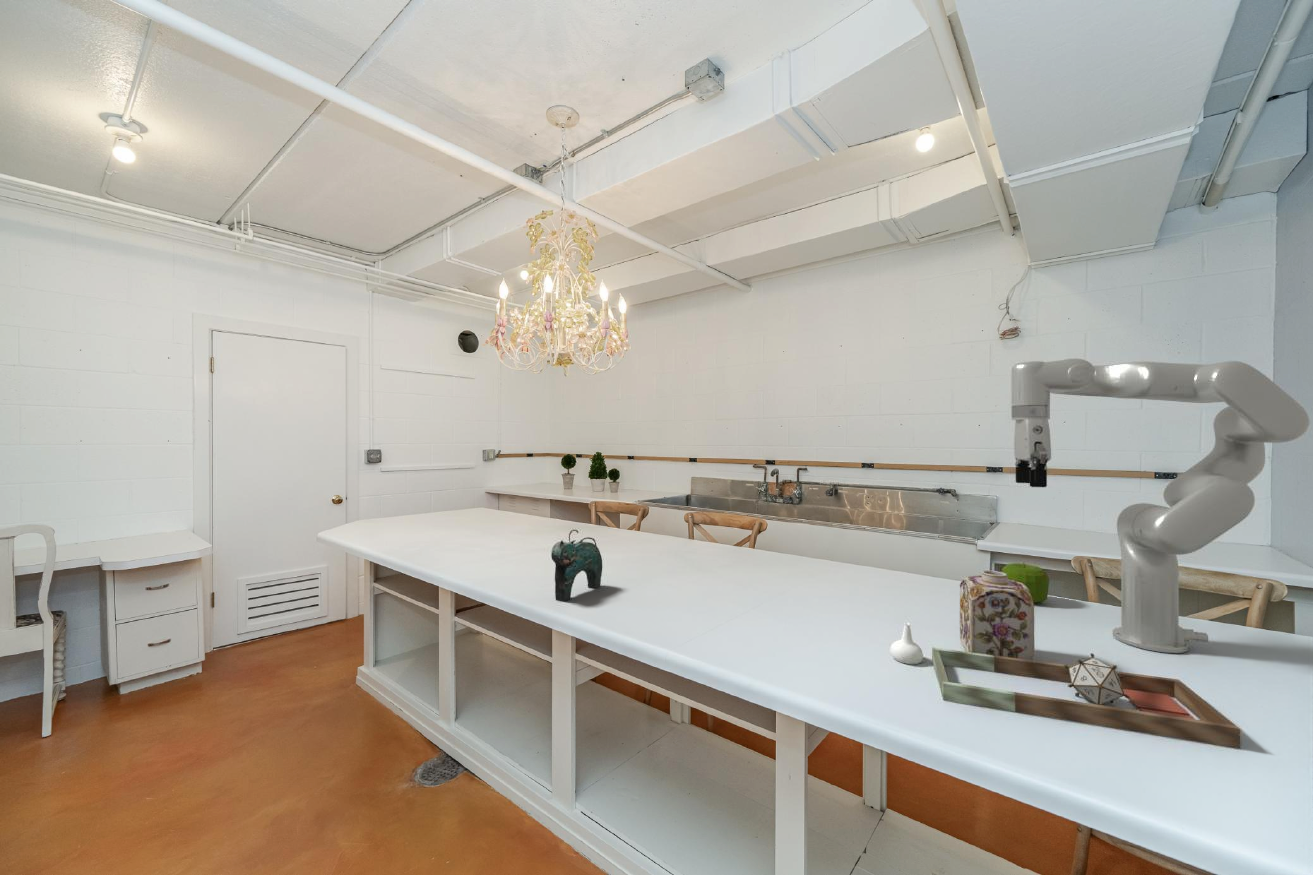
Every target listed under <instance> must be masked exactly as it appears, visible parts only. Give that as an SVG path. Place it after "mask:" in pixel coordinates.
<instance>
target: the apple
mask: <svg viewBox="0 0 1313 875" xmlns="http://www.w3.org/2000/svg"><path fill="white" fill-rule="evenodd" d="M1001 572H1002V573H1005V574H1007V579H1010V580H1014V581H1017V582H1020V583H1023V584H1024V585H1025V586H1026V587H1027V588H1028V589H1029V591H1030V595H1031V596H1032V598H1033V603H1034V604H1037V603H1041V602H1044V601H1047V599H1048V595H1049V594H1048V593H1049V585H1050V578H1049V575H1048V573H1047V572H1046V571H1045V570H1044V569H1043V568H1042V567H1039V566H1035V565H1031V564H1025V562H1022V563H1017V562H1016V563H1008V564H1006V565H1005V566H1004V567H1003V566H1002V568H1001Z"/></svg>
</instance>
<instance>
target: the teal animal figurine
mask: <svg viewBox="0 0 1313 875" xmlns="http://www.w3.org/2000/svg"><path fill="white" fill-rule="evenodd" d="M572 532H576V533H577V534H579V530H578V529H571V530H570V531H569V533H568V541H569V542H565V541H563V539H561V540H560V541H558V542H555V544H554V545H553V546H552V548H551V553H550V554H551V560H552V561H553V562H554V564H555V565H554V566H555V568H554V569H555V570H554V583H555V584H554V585H555V586H554V587H555V588H554V595H555V600H556V601H558V602H563V603H565V602H567V601H570V600H571V596H572V588H573V584H574V583H575V578H576V577H577V576H578V575H579V573H581V572H584V573H585V575H586V580H587V588H589V589H599V588H600V587H601V585H602V584H601V582H602V574H603V557H602V554H601V551H600V549H599V548H598V546H597V542H596V539H595V538H593V537H589V536H588V537H584V538H582V539H581V540H579V541H576V540H575V539H574V540H571V534H572ZM585 540H592V541H593V542H594V543H593V542H589V541H585Z"/></svg>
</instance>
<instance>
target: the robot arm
mask: <svg viewBox="0 0 1313 875" xmlns="http://www.w3.org/2000/svg"><path fill="white" fill-rule="evenodd" d="M1010 373H1011V378H1010V379H1011V381H1010V382H1011V386H1010V387H1011V390H1010V391H1011V397H1010V398H1011V402H1010V403H1011V407H1010V408H1011V412H1010V413H1011V421H1015V423H1014V439H1013V449H1014V451H1013V452H1014V454H1013V455H1014V458H1015V464H1014V465H1015V483H1017V484H1029V487H1032V488H1046V487H1047V486H1048V483H1047V482H1048V479H1047V478H1048V475H1047V474H1048V466H1047V463H1048V462H1049V461H1051V459H1052V445H1051V444H1052V443H1051V433H1050V432H1051V431H1050V429H1051V428H1050V425H1049V424H1050V423H1049V420H1051V394H1054V395H1065V396H1067V395H1068V396H1078V397H1079V396H1080V397H1081V396H1083V397H1101V398H1102V397H1104V398H1114V399H1127V400H1129V399H1132V400H1133V399H1135V400H1152V401H1166V402H1167V401H1169V402H1177V403H1178V402H1180V403H1181V402H1182V403H1193V404H1212V403H1225V404H1226V405H1227V407H1225V408H1223V409H1221V410H1220V411H1219V412H1217V414H1216V415H1215V418H1214V420H1213V431H1214V438H1215V441H1214V442H1215V443H1214V446H1213V448H1212V450H1211V451H1210V452H1209V453H1208V454H1207V455H1206V456H1205V457H1203V458H1202V459H1201V460H1200V461H1198V462H1197V463H1196V464H1194V465H1192V466H1191V467H1190V468H1189V469H1187V470H1186V471H1184V472H1183V473H1181V474H1180V475H1178V476H1176V477H1175V478H1174V479H1173V480H1171V482H1169V483H1168V484H1167V485H1166V486H1165V488H1164V490H1163V493H1162V494H1163V495H1162V496H1163V499H1164V501H1165V504H1167V505H1168V506H1169V507H1167V506H1162V505H1158V504H1155V503H1154V504H1153V503H1146V502H1145V503H1143V502H1141V503H1134V504H1131V505H1128V506H1127V507H1125V508H1123V509H1122V510H1121V512H1120V513H1119V515H1118V517H1117V521H1116V530H1117V537H1118V540H1119V547H1120V558H1121V562H1120V564H1121V584H1120V585H1121V588H1120V590H1121V594H1120V595H1121V597H1120V598H1121V600H1120V601H1121V608H1120V610H1121V616H1120V617H1121V622H1120V623H1121V626H1120V627H1116V628H1113V629H1112V636H1113V637H1114V638H1115V639H1116V640H1118V641H1120V642H1122V643H1124V644H1126V645H1129V646H1132V647H1135V648H1138V649H1144V650H1148V651H1154V652H1158V653H1166V654H1167V653H1168V654H1179V653H1180V654H1182V653H1185V652H1188V651H1189V650H1190V649H1189V644H1188V642H1189V641H1196V642H1205V643H1207V642H1209V635H1208V634H1207V633H1206V632H1201V631H1194V630H1193V629H1190V628H1183V627H1182V626H1180V625H1179V617H1180V616H1179V608H1180V607H1179V606H1180V605H1179V601H1180V600H1179V598H1180V596H1179V595H1180V594H1179V593H1180V592H1179V591H1180V588H1179V586H1180V585H1179V584H1180V583H1179V582H1180V581H1179V578H1180V569H1179V561H1178V557H1177V556H1179V555H1181V556H1183V555H1187V554H1188V555H1189V554H1192V553H1194V552H1196V551H1199V550H1201V549H1202V548H1204V547H1205V546H1207V545H1208V544H1210V543H1212V542H1213V541H1215V540H1216V539H1218V538H1219V537H1221V536H1222V535H1224V534H1225V533H1226V532H1228V531H1229V530H1231V529H1233V528H1234V527H1236V526H1238V524H1240V523H1241V522H1242V521H1243V520H1245V519H1246V518H1247V517H1249V515H1250V514H1251V512H1252V511H1253V508H1254V507H1255V502H1256V501H1255V494H1254V491H1253V489H1252V488H1251V487H1250V486H1249V485H1248V484H1250V483H1251V482H1252V481H1254V480H1255V479H1256V478H1257V477H1258V476H1259V475H1260V474H1261V473H1262V471H1263V470H1264V467H1265V463H1266V446H1265V443H1267V444H1270V443H1272V444H1273V443H1274V444H1277V443H1279V444H1280V443H1287V442H1291V441H1295V440H1296V439H1298V438H1300V437H1302V436H1303V435H1304V434H1305V433H1306V432H1307V430H1308V429H1309V426H1310V418H1309V415H1308V413H1307V411H1306V409H1305V408H1304V407H1303V406H1302V405H1301V404H1300V403H1299V402H1298V401H1297V400H1295V398H1293V397H1292V396H1290V395H1289V393H1287V392H1286V391H1285V390H1284V389H1283V388H1281V387H1280V386H1279V385H1278V384H1277V383H1275V382H1274V381H1272V380H1271V379H1270V377H1268V376H1267V375H1266V374H1264V373H1263V372H1262V371H1260V370H1259V369H1256V368H1255V367H1253V366H1252V365H1250V364H1248V363H1246V362H1242V361H1238V360H1237V361H1236V360H1230V361H1222V362H1216V363H1210V364H1207V363H1206V364H1195V363H1178V362H1177V363H1174V362H1159V361H1156V362H1155V361H1132V362H1125V363H1123V362H1122V363H1118V364H1117V363H1116V364H1106V365H1093V364H1092V363H1091V362H1089V361H1088V360H1085V359H1083V358H1074V357H1073V358H1067V359H1060V360H1054V361H1042V360H1041V361H1040V360H1039V361H1037V360H1035V361H1024V362H1018V363H1015V364H1014V365H1013V366H1012V367H1011V372H1010Z"/></svg>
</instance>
